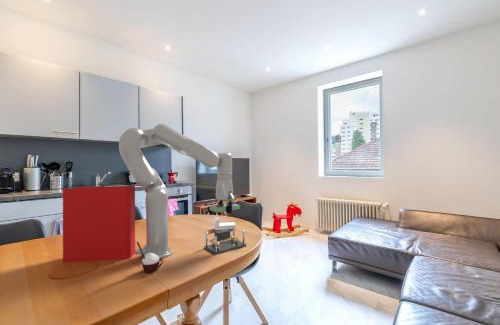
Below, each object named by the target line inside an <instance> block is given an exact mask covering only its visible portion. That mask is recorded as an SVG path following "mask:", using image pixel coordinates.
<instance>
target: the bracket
mask: <svg viewBox="0 0 500 325" xmlns="http://www.w3.org/2000/svg"><path fill="white" fill-rule="evenodd" d="M233 226H235V230H236V229H237V225H236V222H235V221H234V222H233V221H231V222H230V221H229V222H220V218H219V216H215V217H214V230H215V231H220V230H225V229H227V230H233Z"/></svg>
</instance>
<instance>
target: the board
mask: <svg viewBox="0 0 500 325" xmlns="http://www.w3.org/2000/svg"><path fill="white" fill-rule="evenodd" d="M226 206H227V204H226V203H224V205H218V204H215V205H209V208H208V209H209V211H211V212H214V213H221V212H226ZM240 209H241V204H238V203H237V204H236V203H233V205H232V211H235V210H240Z"/></svg>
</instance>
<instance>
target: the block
mask: <svg viewBox="0 0 500 325" xmlns="http://www.w3.org/2000/svg"><path fill="white" fill-rule="evenodd" d="M215 236H217V242H220V241H222V240H223V241H224V240H226V239H231V229H225V230H215V231H214V237H215Z"/></svg>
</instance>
